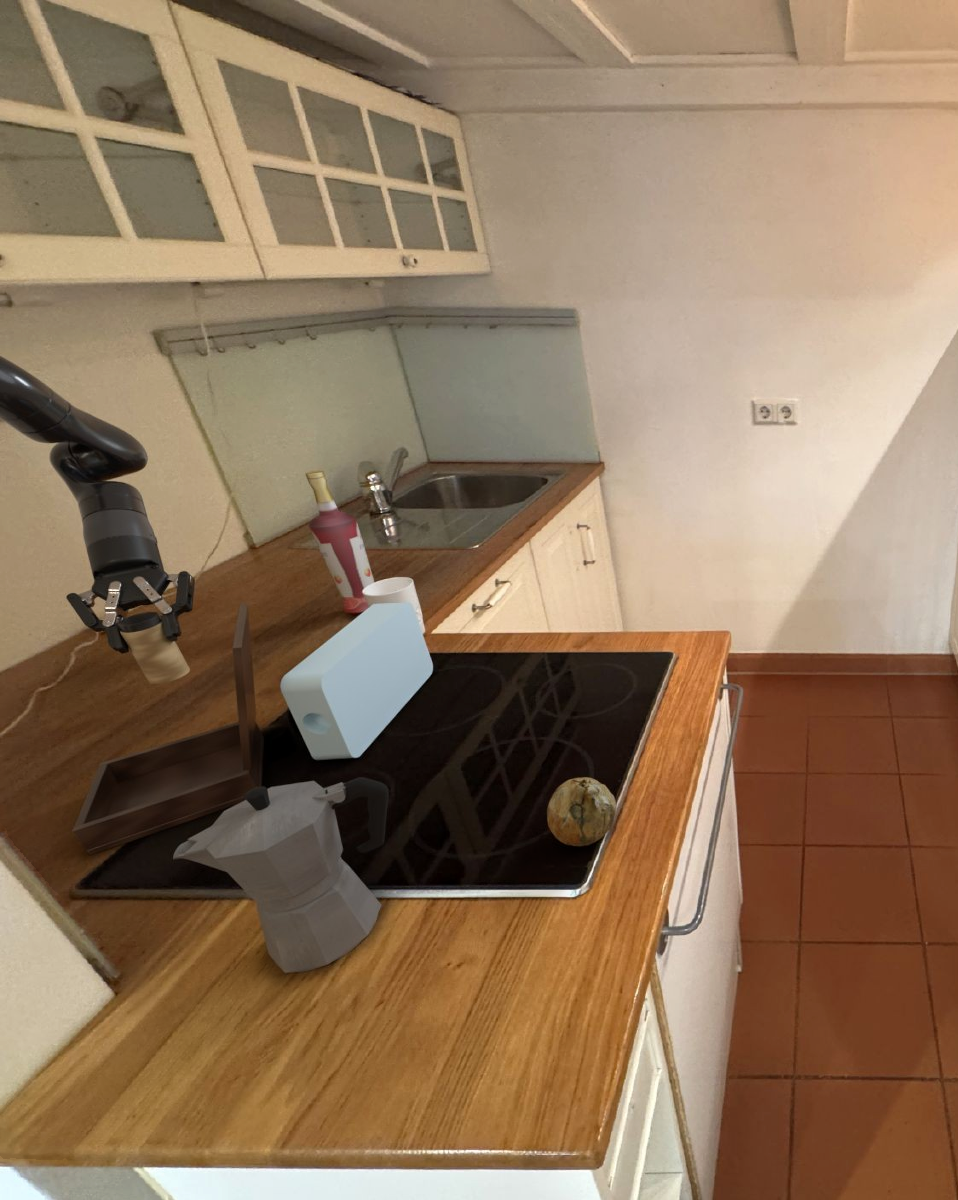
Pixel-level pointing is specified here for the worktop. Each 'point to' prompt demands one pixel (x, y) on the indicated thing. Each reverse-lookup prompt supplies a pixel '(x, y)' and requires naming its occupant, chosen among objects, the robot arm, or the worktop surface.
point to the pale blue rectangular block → (358, 681)
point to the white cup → (394, 594)
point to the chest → (167, 787)
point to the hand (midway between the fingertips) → (148, 644)
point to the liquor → (340, 546)
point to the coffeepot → (297, 867)
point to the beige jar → (153, 648)
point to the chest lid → (244, 686)
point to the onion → (581, 811)
